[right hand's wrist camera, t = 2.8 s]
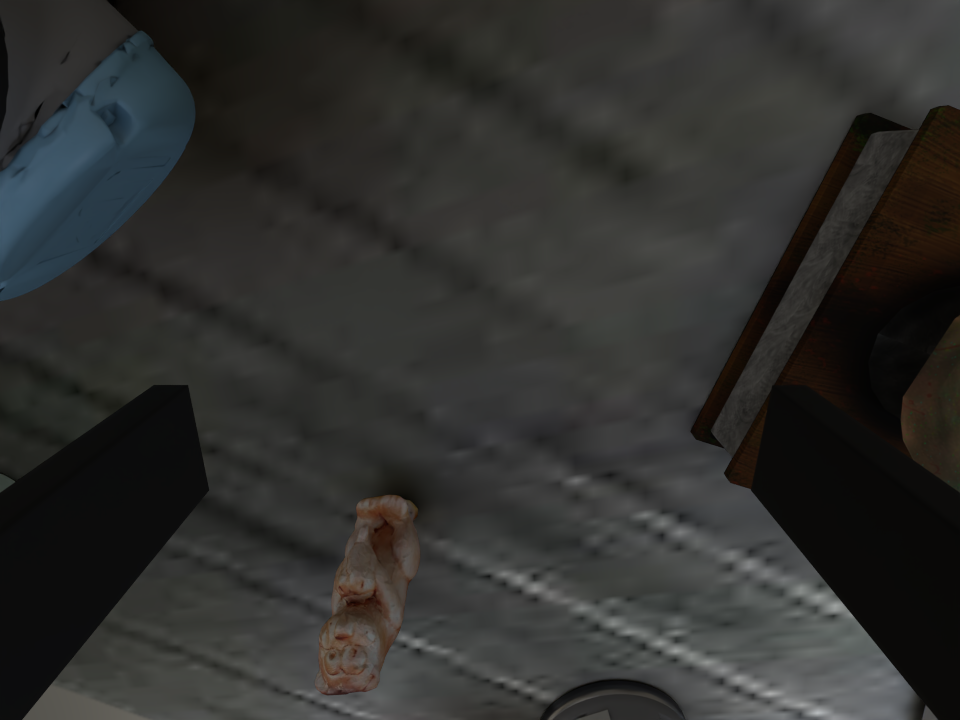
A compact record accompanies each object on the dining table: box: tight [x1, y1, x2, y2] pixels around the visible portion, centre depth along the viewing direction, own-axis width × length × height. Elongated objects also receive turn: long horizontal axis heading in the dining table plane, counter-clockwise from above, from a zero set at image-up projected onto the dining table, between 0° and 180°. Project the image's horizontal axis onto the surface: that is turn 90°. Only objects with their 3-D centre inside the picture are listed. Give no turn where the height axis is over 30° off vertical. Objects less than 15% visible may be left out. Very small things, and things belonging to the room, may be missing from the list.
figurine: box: [315, 495, 420, 695], centre depth 39 cm, size 6×8×15 cm
